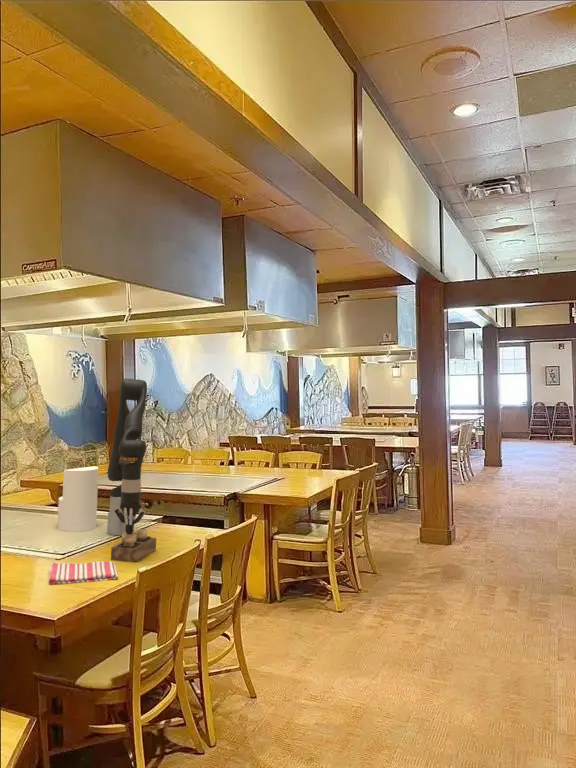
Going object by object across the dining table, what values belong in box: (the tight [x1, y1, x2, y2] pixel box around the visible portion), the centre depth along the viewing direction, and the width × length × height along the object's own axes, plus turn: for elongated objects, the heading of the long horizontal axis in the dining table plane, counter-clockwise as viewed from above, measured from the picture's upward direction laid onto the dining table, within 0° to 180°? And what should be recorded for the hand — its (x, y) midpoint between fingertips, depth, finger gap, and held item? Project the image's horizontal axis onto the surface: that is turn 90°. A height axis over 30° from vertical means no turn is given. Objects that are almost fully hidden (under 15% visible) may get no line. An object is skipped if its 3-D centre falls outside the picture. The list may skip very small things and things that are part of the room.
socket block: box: [110, 535, 157, 563], centre depth 244 cm, size 11×18×6 cm, turn 169°
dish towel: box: [48, 560, 119, 585], centre depth 217 cm, size 17×23×4 cm
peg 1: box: [121, 532, 137, 546], centre depth 239 cm, size 6×6×9 cm
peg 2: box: [133, 528, 148, 540], centre depth 248 cm, size 6×6×9 cm
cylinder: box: [57, 465, 99, 533], centre depth 284 cm, size 17×17×28 cm
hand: (129, 533), depth 239 cm, fingers closed
